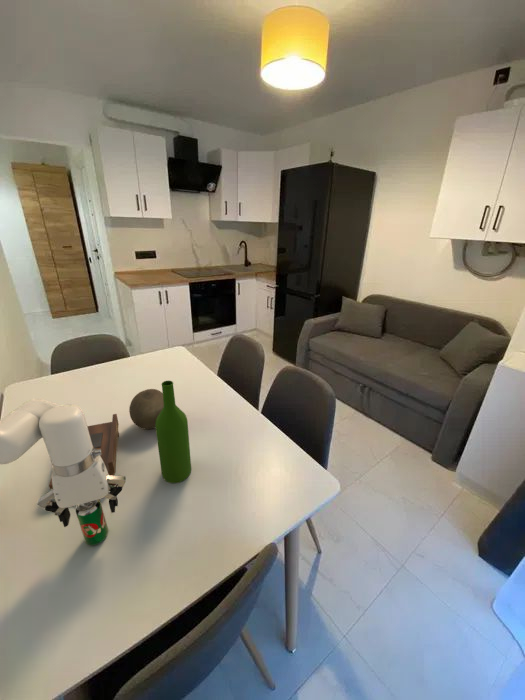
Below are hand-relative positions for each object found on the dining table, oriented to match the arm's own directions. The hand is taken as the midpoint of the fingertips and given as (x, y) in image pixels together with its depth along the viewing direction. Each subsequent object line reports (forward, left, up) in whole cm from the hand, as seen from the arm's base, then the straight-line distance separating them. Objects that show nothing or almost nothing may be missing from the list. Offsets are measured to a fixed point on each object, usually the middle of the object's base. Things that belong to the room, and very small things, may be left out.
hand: (91, 514), depth 69 cm
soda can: (0, 0, -8) cm, 8 cm away
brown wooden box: (-4, +27, -8) cm, 29 cm away
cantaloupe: (+15, +40, -8) cm, 44 cm away
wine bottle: (+21, +14, -8) cm, 27 cm away
